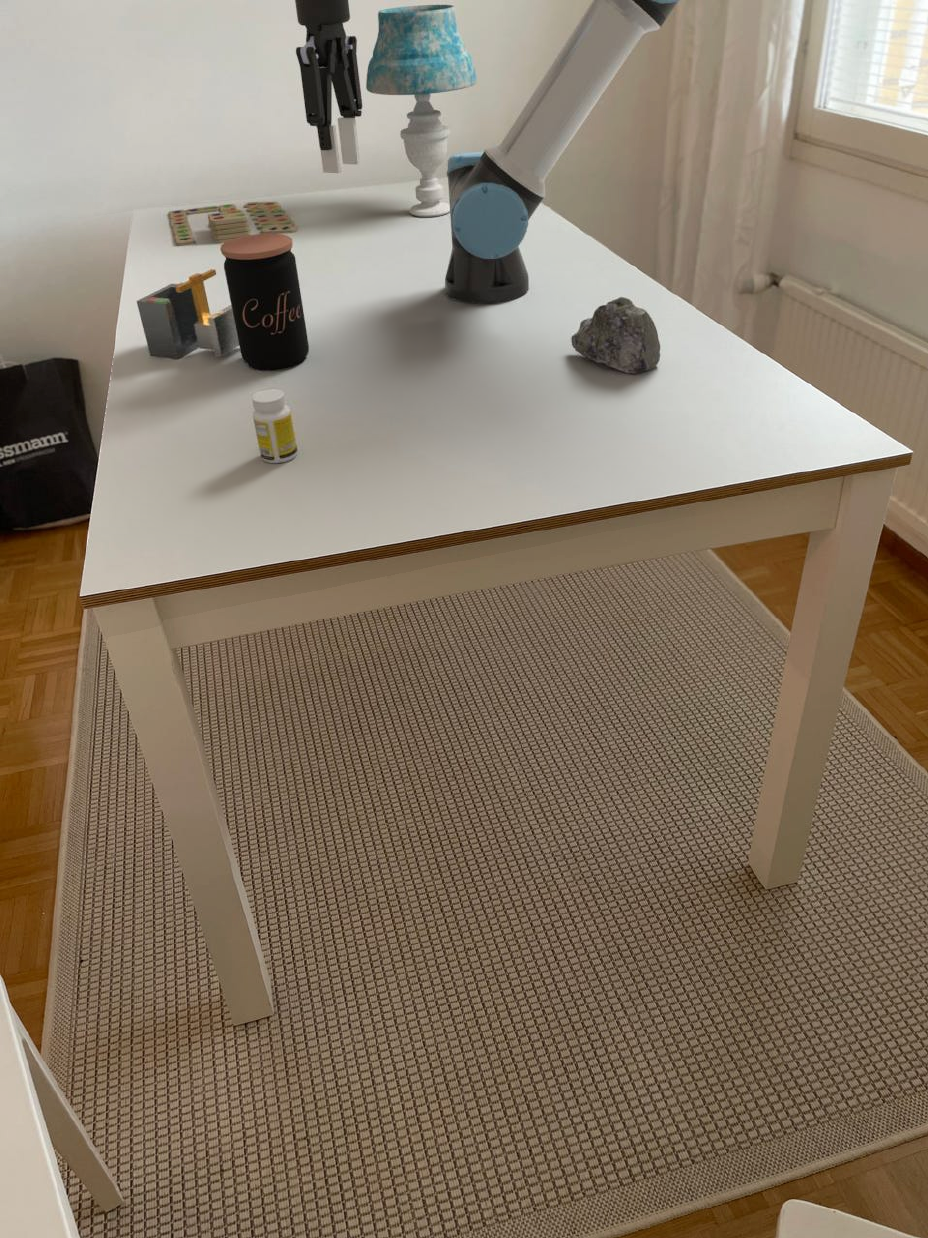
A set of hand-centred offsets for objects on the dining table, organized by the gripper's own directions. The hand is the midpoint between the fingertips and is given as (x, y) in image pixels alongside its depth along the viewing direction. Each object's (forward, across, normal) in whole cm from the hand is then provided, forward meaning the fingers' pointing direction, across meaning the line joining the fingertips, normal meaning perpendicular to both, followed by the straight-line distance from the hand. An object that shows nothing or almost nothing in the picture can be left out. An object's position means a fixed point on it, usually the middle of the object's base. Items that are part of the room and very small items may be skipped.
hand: (341, 167), depth 152 cm
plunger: (+23, +18, -16) cm, 33 cm away
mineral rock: (+25, +4, +46) cm, 53 cm away
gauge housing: (+25, +18, -24) cm, 39 cm away
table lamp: (+25, -71, -21) cm, 78 cm away
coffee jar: (+25, +18, -5) cm, 31 cm away
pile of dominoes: (+26, -53, -64) cm, 87 cm away
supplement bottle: (+25, +47, +14) cm, 55 cm away
